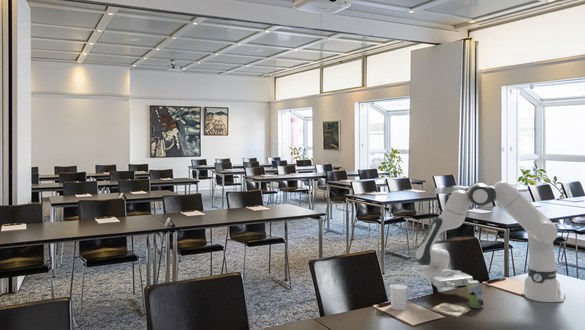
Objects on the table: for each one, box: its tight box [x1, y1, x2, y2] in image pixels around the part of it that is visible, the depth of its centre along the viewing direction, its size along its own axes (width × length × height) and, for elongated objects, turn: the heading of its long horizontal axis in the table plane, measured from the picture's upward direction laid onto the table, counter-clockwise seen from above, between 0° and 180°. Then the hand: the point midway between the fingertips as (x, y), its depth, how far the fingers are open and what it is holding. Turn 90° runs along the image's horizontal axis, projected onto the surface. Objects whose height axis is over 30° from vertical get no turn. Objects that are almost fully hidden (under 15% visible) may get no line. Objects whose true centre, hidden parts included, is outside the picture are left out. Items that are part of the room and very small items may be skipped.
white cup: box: [389, 283, 408, 311], centre depth 220 cm, size 8×8×10 cm
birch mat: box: [429, 302, 472, 318], centre depth 216 cm, size 13×13×1 cm
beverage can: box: [466, 279, 484, 309], centre depth 221 cm, size 6×7×12 cm
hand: (463, 285), depth 229 cm, fingers open, 8 cm apart
